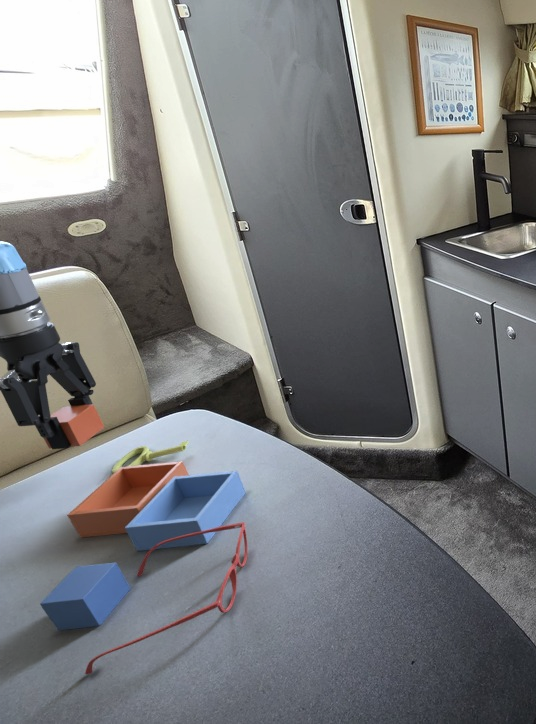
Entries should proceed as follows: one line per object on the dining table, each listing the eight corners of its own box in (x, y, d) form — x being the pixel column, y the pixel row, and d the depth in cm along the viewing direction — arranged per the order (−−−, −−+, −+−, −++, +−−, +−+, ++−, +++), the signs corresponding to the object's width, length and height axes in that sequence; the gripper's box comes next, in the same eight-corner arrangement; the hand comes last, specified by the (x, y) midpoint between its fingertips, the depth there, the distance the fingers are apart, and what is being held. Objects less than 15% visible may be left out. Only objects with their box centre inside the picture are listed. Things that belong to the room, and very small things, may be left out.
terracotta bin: (80, 537, 83) (66, 515, 81) (131, 487, 93) (120, 466, 91) (148, 530, 83) (136, 508, 81) (192, 482, 93) (182, 461, 92)
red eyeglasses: (230, 633, 67) (218, 608, 65) (80, 686, 62) (62, 661, 60) (260, 533, 82) (251, 510, 80) (141, 568, 77) (128, 545, 75)
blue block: (57, 630, 68) (39, 603, 66) (92, 592, 73) (76, 566, 71) (99, 626, 69) (82, 599, 67) (131, 588, 74) (116, 562, 72)
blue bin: (137, 551, 80) (124, 527, 78) (183, 498, 90) (173, 476, 88) (207, 543, 80) (196, 520, 79) (246, 492, 91) (237, 470, 89)
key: (189, 454, 101) (185, 445, 100) (110, 480, 95) (105, 471, 94) (194, 434, 106) (191, 426, 106) (120, 458, 101) (115, 449, 100)
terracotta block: (48, 448, 92) (35, 424, 90) (75, 429, 97) (63, 406, 95) (80, 446, 93) (67, 422, 91) (104, 427, 98) (93, 404, 96)
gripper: (-12, 354, 78) (52, 469, 87) (90, 305, 95) (135, 405, 104) (-63, 358, 78) (6, 473, 86) (48, 308, 95) (97, 408, 103)
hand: (76, 436), depth 95 cm, fingers closed on terracotta block, 5 cm apart
